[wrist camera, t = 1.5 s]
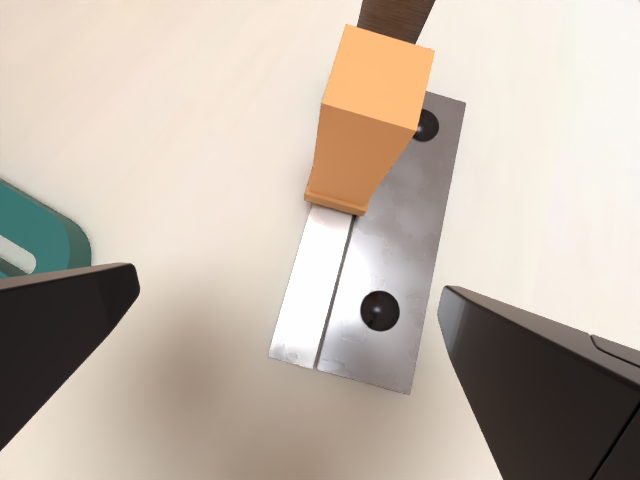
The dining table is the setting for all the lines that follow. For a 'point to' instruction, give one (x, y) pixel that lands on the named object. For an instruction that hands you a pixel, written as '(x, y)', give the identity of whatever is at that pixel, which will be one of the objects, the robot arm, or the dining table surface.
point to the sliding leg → (366, 117)
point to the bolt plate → (394, 258)
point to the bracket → (40, 234)
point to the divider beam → (332, 217)
